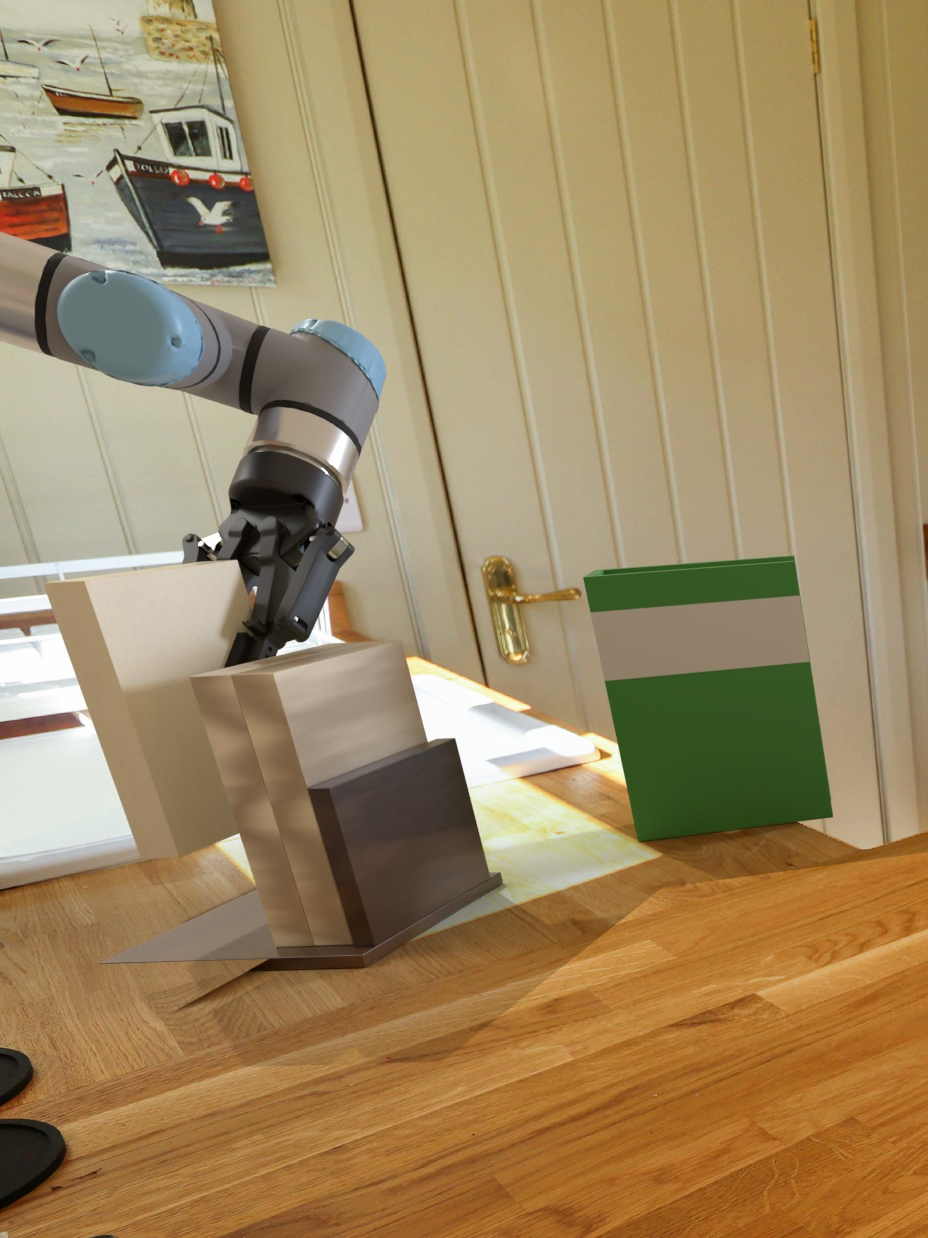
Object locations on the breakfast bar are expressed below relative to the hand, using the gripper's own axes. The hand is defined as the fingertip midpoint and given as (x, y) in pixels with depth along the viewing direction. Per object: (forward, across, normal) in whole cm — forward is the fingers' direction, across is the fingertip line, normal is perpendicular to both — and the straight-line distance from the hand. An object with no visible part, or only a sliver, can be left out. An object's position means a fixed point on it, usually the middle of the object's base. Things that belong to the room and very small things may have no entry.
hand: (205, 712), depth 98 cm
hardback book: (-4, -30, -28) cm, 42 cm away
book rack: (+14, -6, -10) cm, 18 cm away
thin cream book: (+7, 0, -6) cm, 9 cm away
